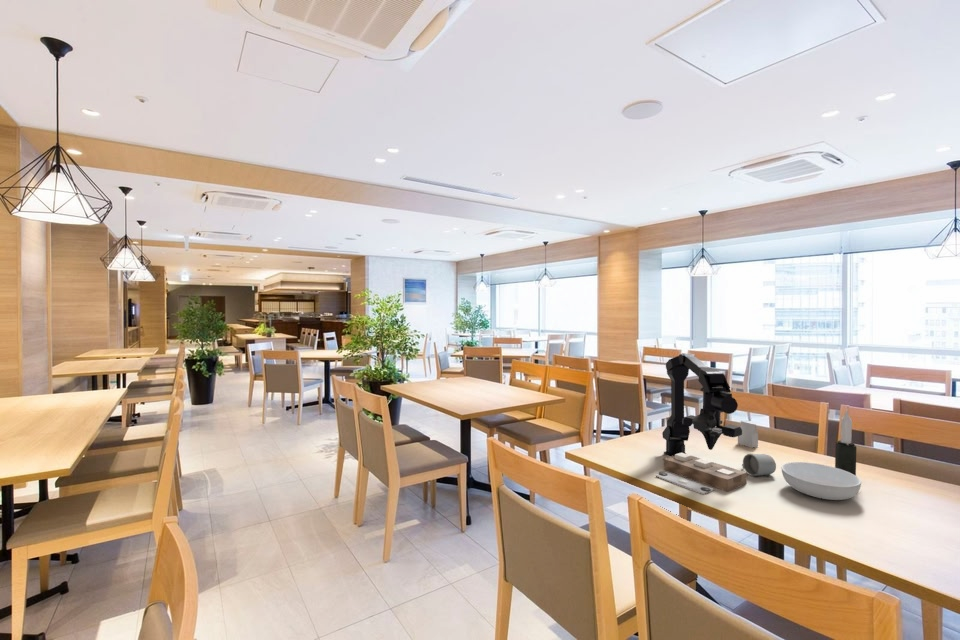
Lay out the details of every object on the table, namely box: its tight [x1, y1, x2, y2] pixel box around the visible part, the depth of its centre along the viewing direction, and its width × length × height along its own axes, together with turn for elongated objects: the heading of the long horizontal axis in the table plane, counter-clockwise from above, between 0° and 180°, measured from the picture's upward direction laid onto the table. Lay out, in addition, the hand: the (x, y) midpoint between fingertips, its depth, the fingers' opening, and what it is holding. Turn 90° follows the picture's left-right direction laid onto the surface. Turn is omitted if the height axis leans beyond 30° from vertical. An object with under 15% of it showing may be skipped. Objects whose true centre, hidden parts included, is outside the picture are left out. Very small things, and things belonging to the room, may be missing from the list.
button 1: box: [675, 452, 692, 462], centre depth 168 cm, size 4×4×3 cm
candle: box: [834, 409, 857, 476], centre depth 157 cm, size 5×5×25 cm
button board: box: [663, 455, 748, 492], centre depth 161 cm, size 24×12×4 cm, turn 32°
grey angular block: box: [737, 420, 759, 449], centre depth 197 cm, size 4×7×10 cm, turn 24°
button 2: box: [717, 469, 735, 476], centre depth 154 cm, size 4×4×3 cm
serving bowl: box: [781, 461, 862, 501], centre depth 146 cm, size 21×21×7 cm
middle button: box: [695, 458, 713, 469], centre depth 161 cm, size 4×4×3 cm
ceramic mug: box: [741, 453, 777, 477], centre depth 164 cm, size 11×8×8 cm
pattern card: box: [655, 471, 714, 495], centre depth 155 cm, size 19×6×1 cm, turn 32°
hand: (710, 449), depth 159 cm, fingers closed
